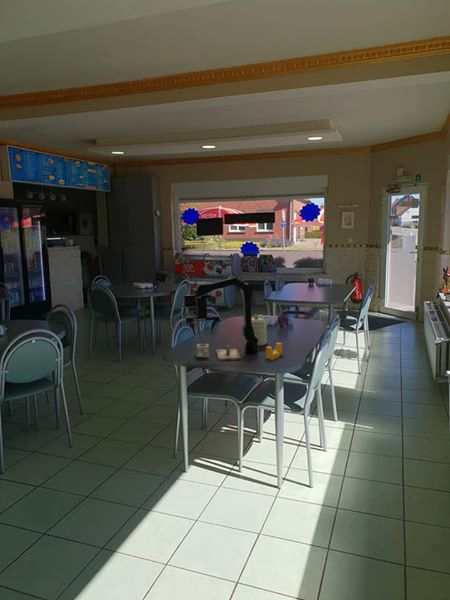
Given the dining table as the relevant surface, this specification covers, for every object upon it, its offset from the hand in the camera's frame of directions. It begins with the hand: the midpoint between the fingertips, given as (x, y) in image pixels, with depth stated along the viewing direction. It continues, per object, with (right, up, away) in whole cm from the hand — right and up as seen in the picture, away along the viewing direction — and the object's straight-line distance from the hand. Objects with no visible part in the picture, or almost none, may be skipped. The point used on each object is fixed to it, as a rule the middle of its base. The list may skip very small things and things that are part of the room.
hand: (202, 334), depth 259 cm
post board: (+14, -12, +2) cm, 19 cm away
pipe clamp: (+40, -13, -1) cm, 42 cm away
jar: (+32, -8, +28) cm, 43 cm away
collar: (0, -12, +1) cm, 12 cm away
